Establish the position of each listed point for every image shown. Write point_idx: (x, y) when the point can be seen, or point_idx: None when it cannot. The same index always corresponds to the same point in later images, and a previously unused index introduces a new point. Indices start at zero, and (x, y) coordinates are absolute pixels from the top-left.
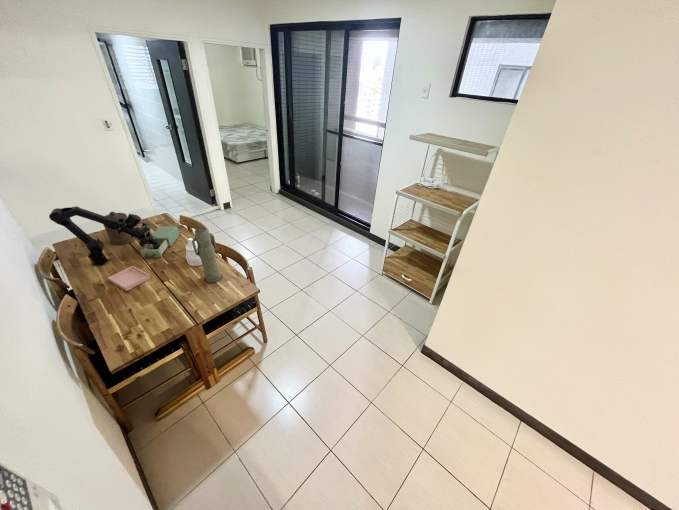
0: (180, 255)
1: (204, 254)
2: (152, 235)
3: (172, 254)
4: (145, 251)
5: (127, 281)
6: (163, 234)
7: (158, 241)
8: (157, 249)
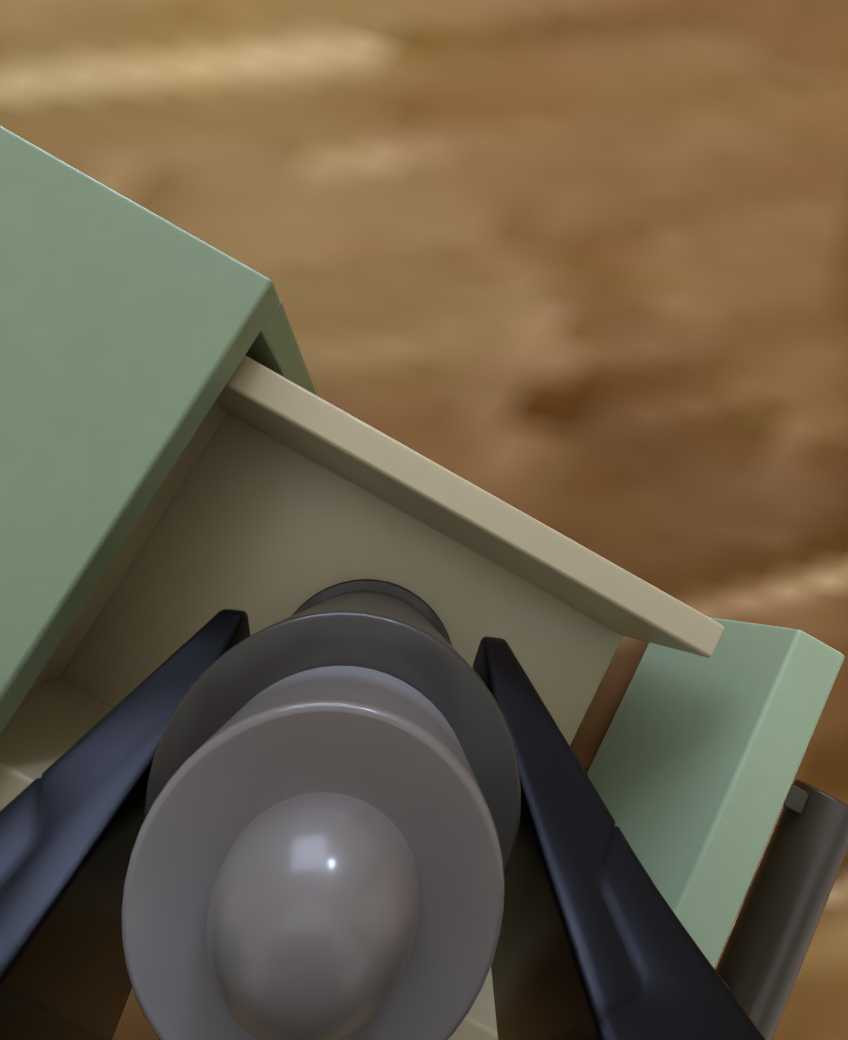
0: (742, 322)
1: None
2: (389, 941)
3: (641, 434)
4: None
5: None
6: None
7: None
8: (777, 688)
